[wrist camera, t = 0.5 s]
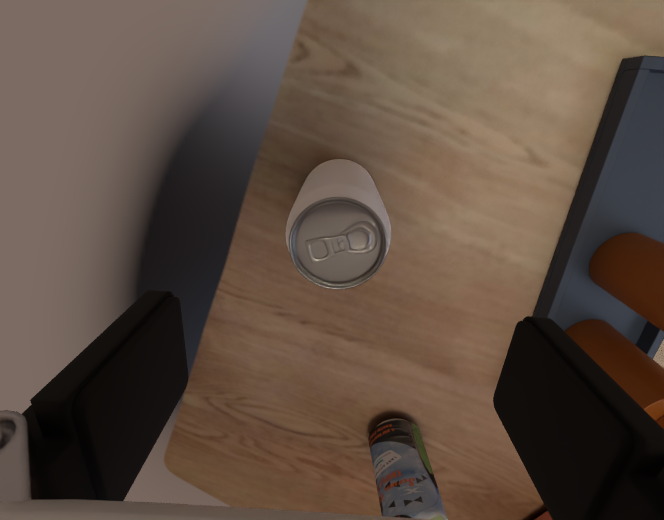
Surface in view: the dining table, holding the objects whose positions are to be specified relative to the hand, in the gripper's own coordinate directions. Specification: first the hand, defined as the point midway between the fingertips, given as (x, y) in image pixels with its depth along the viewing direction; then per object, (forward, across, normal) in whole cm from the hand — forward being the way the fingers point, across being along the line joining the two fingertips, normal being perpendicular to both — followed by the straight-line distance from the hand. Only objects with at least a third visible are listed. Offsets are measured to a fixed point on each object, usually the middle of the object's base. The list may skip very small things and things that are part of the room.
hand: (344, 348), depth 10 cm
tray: (+22, -26, +5) cm, 35 cm away
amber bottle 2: (+22, -26, +14) cm, 37 cm away
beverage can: (+23, -9, +29) cm, 38 cm away
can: (+23, 0, +1) cm, 23 cm away
